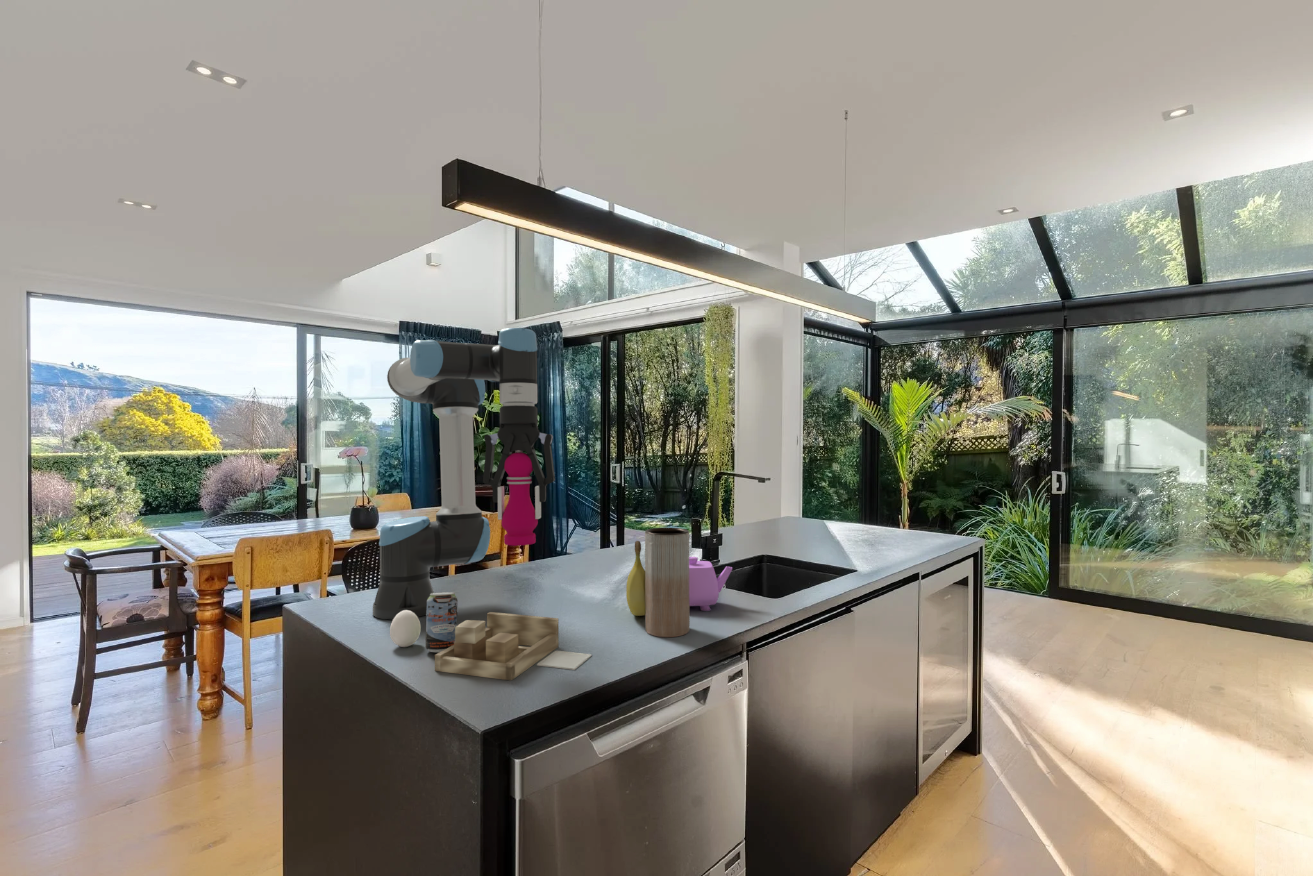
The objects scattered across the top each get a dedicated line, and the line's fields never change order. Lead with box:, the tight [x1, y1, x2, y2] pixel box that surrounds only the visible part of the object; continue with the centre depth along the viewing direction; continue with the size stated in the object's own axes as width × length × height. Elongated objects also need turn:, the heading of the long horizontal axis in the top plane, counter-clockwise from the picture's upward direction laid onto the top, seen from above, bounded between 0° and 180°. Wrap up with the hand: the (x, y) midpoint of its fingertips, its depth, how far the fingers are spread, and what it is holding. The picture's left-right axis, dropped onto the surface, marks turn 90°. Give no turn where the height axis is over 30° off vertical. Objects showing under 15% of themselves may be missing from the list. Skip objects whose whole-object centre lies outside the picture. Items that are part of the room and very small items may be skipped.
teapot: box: [689, 556, 733, 612], centre depth 164 cm, size 20×12×13 cm, turn 90°
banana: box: [625, 540, 645, 617], centre depth 156 cm, size 23×6×20 cm, turn 178°
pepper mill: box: [501, 450, 539, 547], centre depth 129 cm, size 7×7×20 cm
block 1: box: [455, 619, 486, 644], centre depth 123 cm, size 4×5×3 cm
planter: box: [644, 527, 691, 638], centre depth 143 cm, size 10×10×23 cm
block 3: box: [486, 633, 519, 663], centre depth 121 cm, size 4×5×6 cm
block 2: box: [454, 636, 487, 661], centre depth 123 cm, size 4×5×5 cm
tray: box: [434, 611, 560, 681], centre depth 126 cm, size 16×19×6 cm
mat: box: [536, 649, 592, 671], centre depth 125 cm, size 8×8×1 cm
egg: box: [389, 610, 422, 648], centre depth 134 cm, size 6×6×8 cm
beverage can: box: [424, 591, 458, 653], centre depth 131 cm, size 6×7×12 cm
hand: (519, 518), depth 129 cm, fingers closed on pepper mill, 7 cm apart
